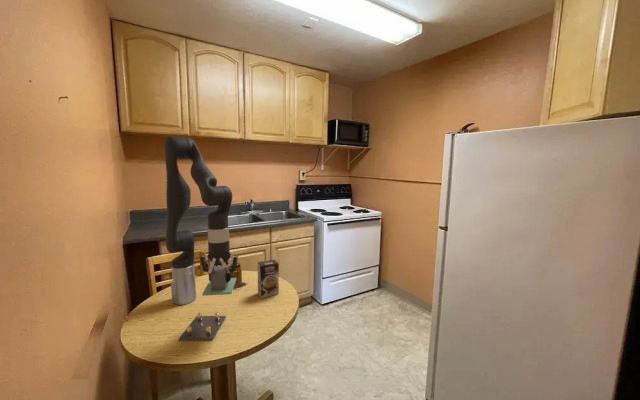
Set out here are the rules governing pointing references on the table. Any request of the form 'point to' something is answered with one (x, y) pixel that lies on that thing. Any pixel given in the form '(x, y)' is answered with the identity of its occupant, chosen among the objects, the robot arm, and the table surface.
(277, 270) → the coffee box
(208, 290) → the board
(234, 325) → the table surface
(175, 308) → the table surface
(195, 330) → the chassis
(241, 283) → the condiment
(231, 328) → the table surface
